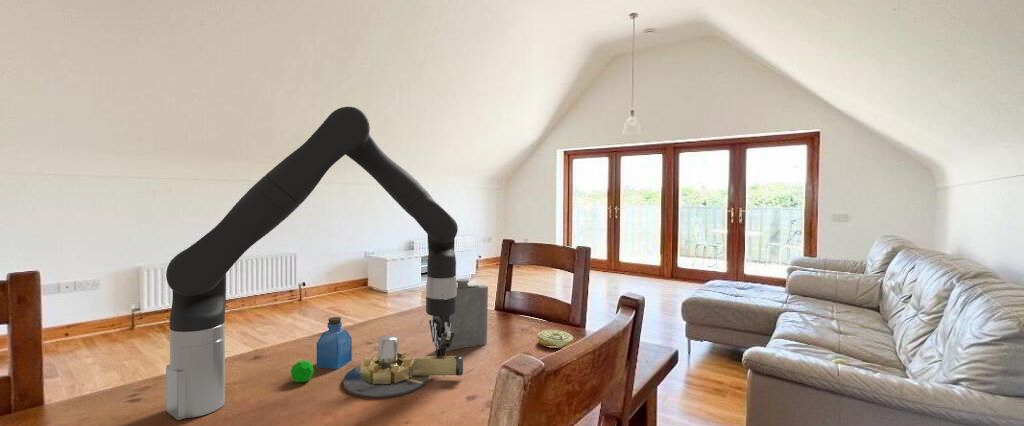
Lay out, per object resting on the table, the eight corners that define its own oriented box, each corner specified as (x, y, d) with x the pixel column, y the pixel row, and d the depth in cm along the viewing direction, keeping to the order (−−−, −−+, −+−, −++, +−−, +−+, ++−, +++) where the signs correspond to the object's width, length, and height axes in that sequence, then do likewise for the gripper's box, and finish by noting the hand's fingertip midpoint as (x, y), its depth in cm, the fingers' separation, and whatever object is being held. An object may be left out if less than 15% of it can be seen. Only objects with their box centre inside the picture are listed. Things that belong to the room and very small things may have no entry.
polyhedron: (307, 375, 109) (307, 356, 109) (317, 381, 106) (317, 361, 106) (286, 381, 105) (287, 361, 105) (296, 387, 102) (296, 367, 102)
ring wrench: (355, 383, 101) (355, 366, 101) (369, 363, 113) (369, 348, 113) (461, 384, 102) (461, 367, 102) (464, 364, 114) (464, 349, 114)
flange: (380, 407, 94) (381, 359, 93) (326, 382, 105) (326, 339, 105) (446, 376, 110) (447, 336, 110) (393, 358, 122) (393, 321, 121)
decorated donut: (563, 353, 128) (563, 340, 128) (531, 346, 134) (531, 333, 134) (578, 344, 137) (578, 332, 137) (547, 337, 143) (548, 325, 143)
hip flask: (439, 352, 127) (440, 283, 126) (434, 348, 130) (435, 280, 129) (488, 344, 135) (490, 278, 134) (482, 340, 138) (483, 276, 137)
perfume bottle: (338, 369, 113) (338, 322, 113) (316, 366, 115) (316, 320, 114) (351, 360, 119) (351, 316, 119) (330, 358, 121) (331, 314, 120)
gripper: (419, 289, 114) (418, 355, 115) (434, 301, 103) (433, 375, 104) (447, 287, 118) (446, 351, 119) (465, 298, 106) (464, 369, 107)
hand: (440, 362), depth 111 cm, fingers closed
